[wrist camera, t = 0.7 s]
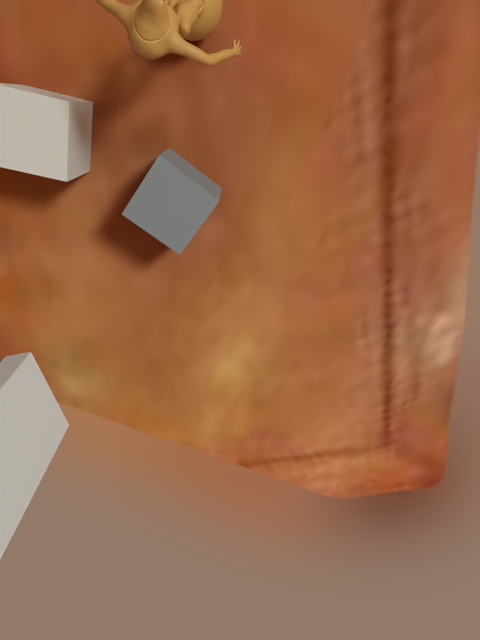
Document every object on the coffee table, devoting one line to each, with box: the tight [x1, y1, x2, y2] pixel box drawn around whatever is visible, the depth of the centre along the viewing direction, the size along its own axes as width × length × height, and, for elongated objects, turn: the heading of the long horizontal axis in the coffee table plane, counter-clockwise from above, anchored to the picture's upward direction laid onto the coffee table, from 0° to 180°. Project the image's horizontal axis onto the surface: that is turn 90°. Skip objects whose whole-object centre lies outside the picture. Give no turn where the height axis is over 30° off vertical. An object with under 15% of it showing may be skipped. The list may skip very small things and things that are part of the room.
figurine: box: [95, 0, 241, 66], centre depth 23 cm, size 8×6×12 cm
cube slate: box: [122, 148, 222, 255], centre depth 32 cm, size 5×5×5 cm
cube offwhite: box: [0, 83, 93, 182], centre depth 29 cm, size 5×5×5 cm
